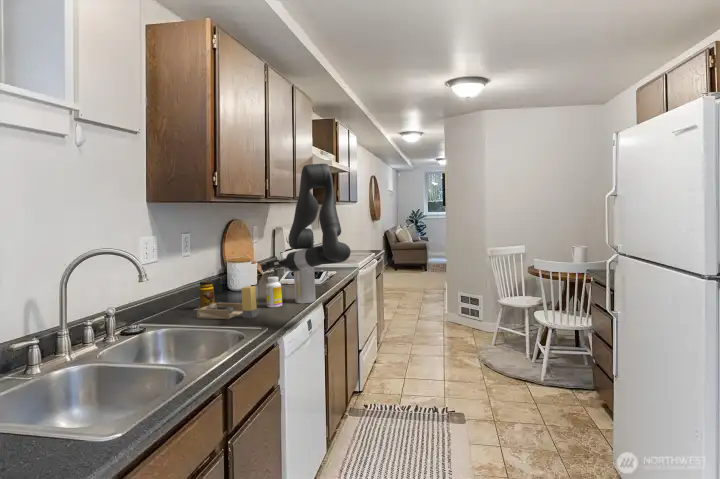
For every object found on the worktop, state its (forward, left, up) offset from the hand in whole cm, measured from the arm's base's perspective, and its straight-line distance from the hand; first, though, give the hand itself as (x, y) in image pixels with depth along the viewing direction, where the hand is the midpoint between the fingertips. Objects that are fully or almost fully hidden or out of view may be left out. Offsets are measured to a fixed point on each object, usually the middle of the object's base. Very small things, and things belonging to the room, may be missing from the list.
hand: (269, 267), depth 190 cm
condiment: (-12, -38, -20) cm, 45 cm away
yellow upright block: (+1, -9, -20) cm, 22 cm away
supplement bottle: (-19, -8, -20) cm, 29 cm away
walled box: (-1, -23, -20) cm, 30 cm away
